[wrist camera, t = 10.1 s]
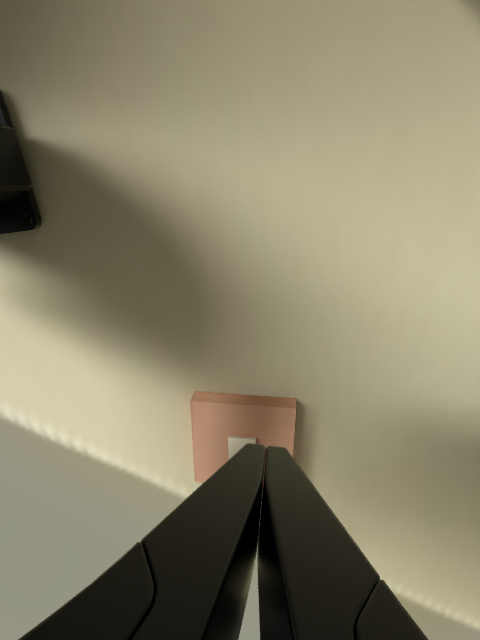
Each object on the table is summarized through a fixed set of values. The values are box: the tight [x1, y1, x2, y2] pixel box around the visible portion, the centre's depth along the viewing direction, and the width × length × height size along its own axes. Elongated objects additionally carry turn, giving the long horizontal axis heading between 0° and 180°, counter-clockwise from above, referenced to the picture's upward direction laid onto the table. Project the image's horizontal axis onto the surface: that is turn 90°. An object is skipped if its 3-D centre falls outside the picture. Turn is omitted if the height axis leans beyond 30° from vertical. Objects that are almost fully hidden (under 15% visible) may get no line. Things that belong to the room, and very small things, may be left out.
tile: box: [190, 391, 296, 482], centre depth 22 cm, size 6×6×2 cm
